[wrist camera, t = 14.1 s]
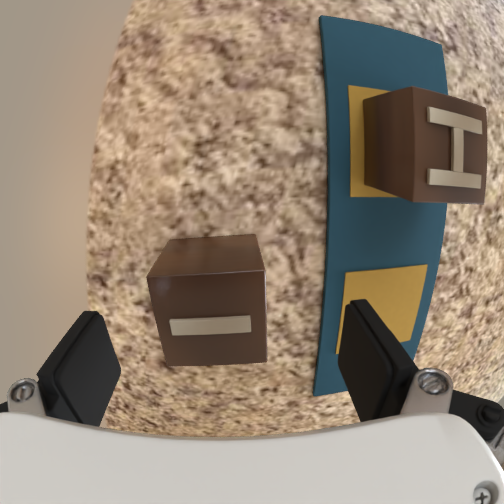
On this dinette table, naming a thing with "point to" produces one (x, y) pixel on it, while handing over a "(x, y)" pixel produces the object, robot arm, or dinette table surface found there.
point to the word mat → (373, 193)
